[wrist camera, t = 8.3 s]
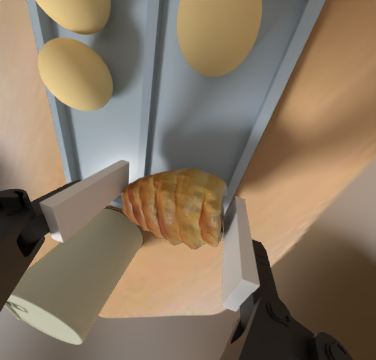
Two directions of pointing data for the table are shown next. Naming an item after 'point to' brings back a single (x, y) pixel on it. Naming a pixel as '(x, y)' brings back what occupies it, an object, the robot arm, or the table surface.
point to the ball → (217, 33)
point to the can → (76, 277)
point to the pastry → (178, 206)
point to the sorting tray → (174, 93)
